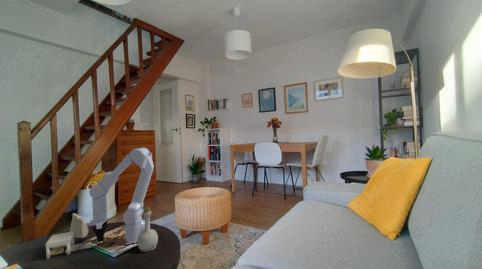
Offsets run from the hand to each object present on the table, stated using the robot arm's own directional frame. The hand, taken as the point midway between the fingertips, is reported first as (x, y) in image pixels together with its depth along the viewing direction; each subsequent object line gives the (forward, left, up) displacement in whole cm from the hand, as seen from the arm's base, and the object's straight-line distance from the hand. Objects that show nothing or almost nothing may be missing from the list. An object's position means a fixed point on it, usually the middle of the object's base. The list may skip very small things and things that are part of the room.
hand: (100, 238), depth 107 cm
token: (+16, 0, -2) cm, 17 cm away
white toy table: (+15, 0, -2) cm, 15 cm away
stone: (+10, -16, -2) cm, 19 cm away
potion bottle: (-19, +17, -2) cm, 26 cm away
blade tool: (+6, 0, -2) cm, 6 cm away
